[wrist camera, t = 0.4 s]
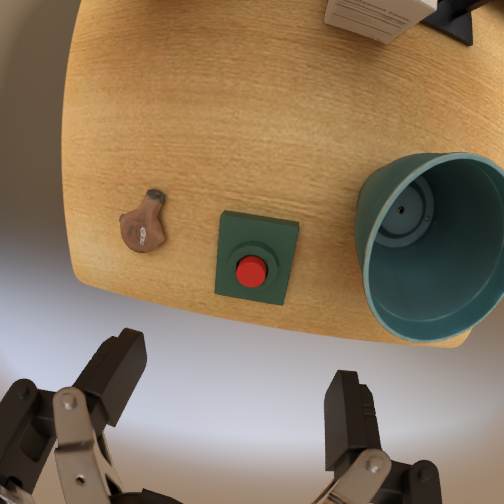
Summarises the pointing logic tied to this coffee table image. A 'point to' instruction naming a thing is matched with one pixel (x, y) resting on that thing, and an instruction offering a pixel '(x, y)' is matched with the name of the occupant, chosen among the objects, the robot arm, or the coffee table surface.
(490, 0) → the bracket
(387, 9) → the white product box
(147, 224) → the oil lamp
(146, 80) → the coffee table surface
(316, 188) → the coffee table surface
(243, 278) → the button
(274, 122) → the coffee table surface
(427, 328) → the flower pot
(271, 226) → the button box
